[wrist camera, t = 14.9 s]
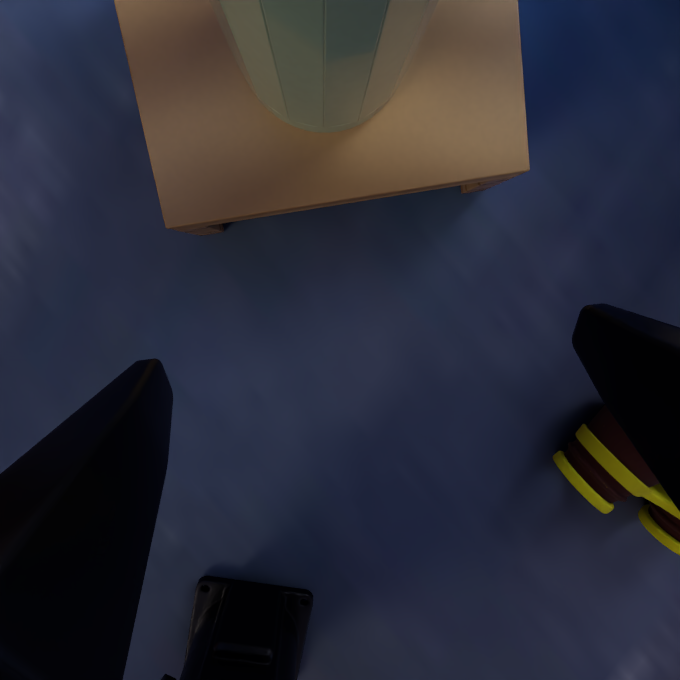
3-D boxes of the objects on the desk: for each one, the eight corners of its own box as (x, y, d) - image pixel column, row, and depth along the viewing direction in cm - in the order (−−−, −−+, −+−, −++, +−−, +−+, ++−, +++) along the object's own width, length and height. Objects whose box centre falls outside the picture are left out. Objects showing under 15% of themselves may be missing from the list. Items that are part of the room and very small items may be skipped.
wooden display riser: (485, 190, 21) (530, 170, 16) (200, 236, 21) (165, 228, 16) (461, -70, 19) (506, -176, 14) (145, -21, 18) (87, -112, 14)
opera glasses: (530, 444, 24) (569, 507, 19) (595, 371, 22) (655, 421, 18) (662, 519, 25) (729, 595, 21) (733, 455, 23) (824, 523, 19)
